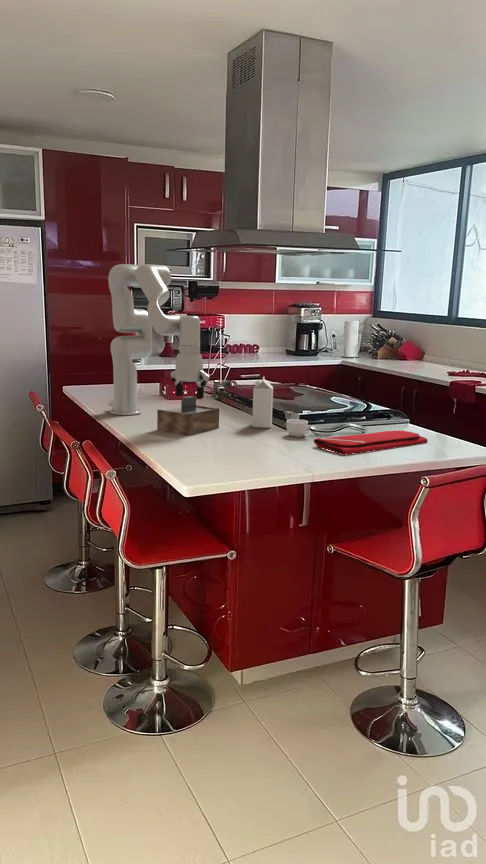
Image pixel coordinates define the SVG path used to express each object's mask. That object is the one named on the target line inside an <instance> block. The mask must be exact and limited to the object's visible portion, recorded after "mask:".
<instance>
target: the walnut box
mask: <svg viewBox="0 0 486 864" xmlns="http://www.w3.org/2000/svg"><path fill="white" fill-rule="evenodd" d="M196 407H199V408H206V409H211V410H207V411H202V412H197V413H193V414H186V413H179V412H173V411H166V410H167V409H165V410H164V409H157V410H156V412H157V413H156V414H157V417H156V419H157V422H156V423H157V424H156V425H157V426H156V427H157V428H156V429H157V430H156V431H162V432H168V433H173V434H177V435H178V434H179V435H185V436H193V435H196V434H201V433H205V432H210V431H213V430H216V429H217V430H218V429H219V428H220V408H218V407H212V406H205V405H204V406H203V405H198V404H196Z"/></svg>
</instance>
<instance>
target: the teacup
mask: <svg viewBox="0 0 486 864" xmlns="http://www.w3.org/2000/svg"><path fill="white" fill-rule="evenodd" d="M308 424H309V421H308V420H305V419H300V418H299V419H297V418H296V419H294V418H291V419H287V420H286V432H287V434H288V435H289V436H290V435H291V437H293V436H295V437H294V438H302V437H304V436H305V435H306V434H308V433H309V431H310V427H309V425H308Z"/></svg>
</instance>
